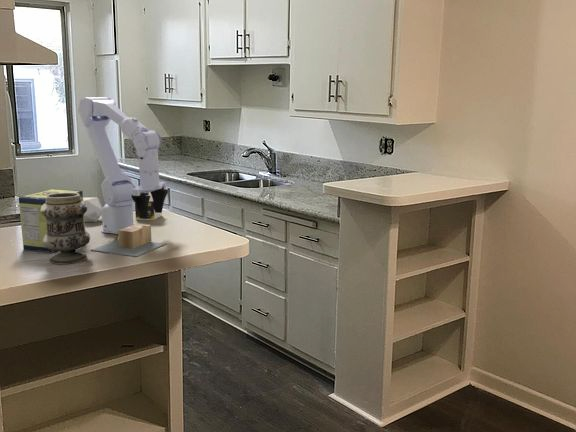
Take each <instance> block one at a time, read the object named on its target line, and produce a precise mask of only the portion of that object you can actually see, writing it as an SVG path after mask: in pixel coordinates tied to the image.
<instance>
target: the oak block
mask: <svg viewBox="0 0 576 432" xmlns="http://www.w3.org/2000/svg"><path fill="white" fill-rule="evenodd" d="M133 224H134V225H132V226H129V227H126V228H123V229H120V230H118V234H117V235H118V239H119V247H124V248H132V249H133V248H136V247H138V246H141V245H143V244H146V243H148V242H152V227H151V226H152V225H150V224H143V223H133ZM118 239H117V240H118Z"/></svg>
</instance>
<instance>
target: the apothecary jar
mask: <svg viewBox="0 0 576 432" xmlns="http://www.w3.org/2000/svg"><path fill="white" fill-rule="evenodd" d="M86 211H87V205H86V204H85V203H84V202H83V201H81V198H80V195H79V194H78V193H70V192H69V193H54V194H49V195H47V196H46V203H45V204H43V205H42V207H41V214H42V215H43V216H45V217H46V221H47V234H46V235H45V236H44V237H43V244H44V245H45V246H46V247H47V248H48V249H51V250H54V251H55V252H58V253H56V254H54V255H52V256H51V257H50V258H49V261H48V262H49V263H51V264H55V265H70V264H75V263H79V262H83V261H85V260H87V259H88V254H86V253H84V252H80V251H77V250H79V249H81V248H83V247H86V245H88V244H89V243H90V241H91V235H90V233H89V232H88V231H87V230H86V227H85V228H84V220H83V214H84V213H86Z"/></svg>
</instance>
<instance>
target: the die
mask: <svg viewBox="0 0 576 432" xmlns="http://www.w3.org/2000/svg"><path fill="white" fill-rule="evenodd" d="M83 202H84V203H85V204H86V205H87V211H86V213H84V220H85V223H86V222H87V223H90V222H91V223H92V222H93V223H95V222H97V221H98V220H99V219H100V217H102V209H103V206H102V204H101V202H100V199H99V197H83Z"/></svg>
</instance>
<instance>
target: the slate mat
mask: <svg viewBox="0 0 576 432" xmlns="http://www.w3.org/2000/svg"><path fill="white" fill-rule="evenodd" d="M166 245H167V244H166V243H163V242H155V241H151V242H148V243H146V244H143V245H141V246H138V247H136V248H133V249H132V248H124V247H119V239H116V240H113V241H111V242H108V243H105V244H102V245H100V246H96V247H94V248H91V249H90V251H91V252H99V253H103V254H104V253H106V254H113V255H120V256H126V257H127V256H128V257H134V258H135V257H136V258H138V257H140V256H142V255H145V254H147V253H149V252H151V251H153V250H156V249H159V248H160V247H163V246H166Z"/></svg>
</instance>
